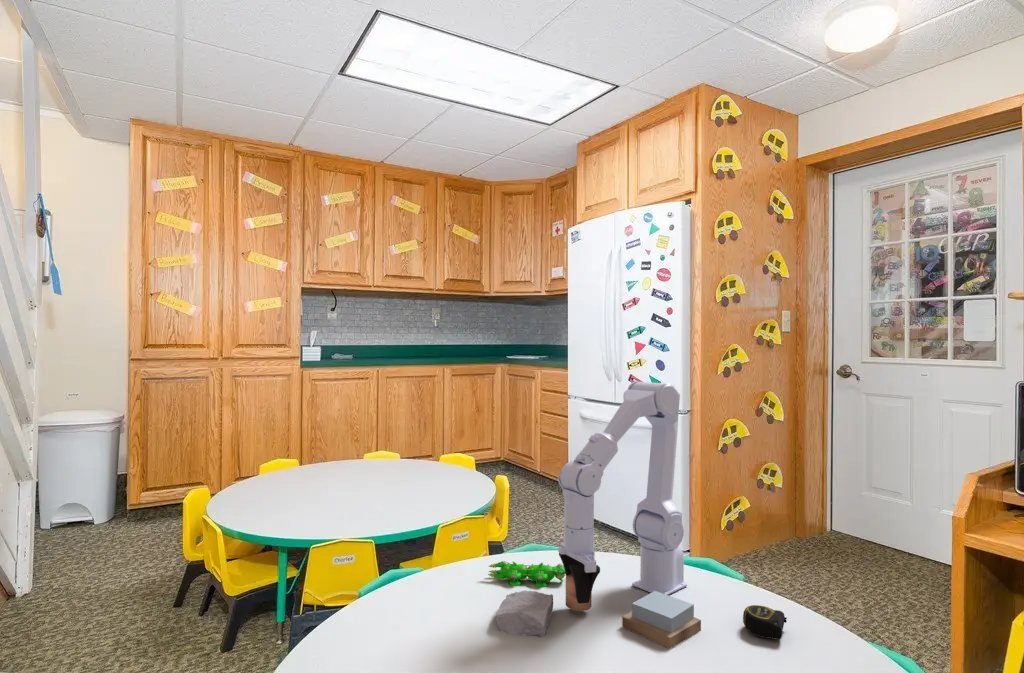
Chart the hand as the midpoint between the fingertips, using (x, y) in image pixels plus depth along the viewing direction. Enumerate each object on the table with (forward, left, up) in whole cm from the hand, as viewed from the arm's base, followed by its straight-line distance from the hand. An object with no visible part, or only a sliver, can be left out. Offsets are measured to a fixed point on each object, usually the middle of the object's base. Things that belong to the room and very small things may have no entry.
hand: (578, 596), depth 108 cm
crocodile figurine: (-3, -17, -4) cm, 18 cm away
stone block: (+10, -5, -4) cm, 12 cm away
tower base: (-7, +14, -4) cm, 16 cm away
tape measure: (-21, +27, -3) cm, 34 cm away
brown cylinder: (0, 0, -2) cm, 2 cm away
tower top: (-7, +14, -1) cm, 16 cm away
